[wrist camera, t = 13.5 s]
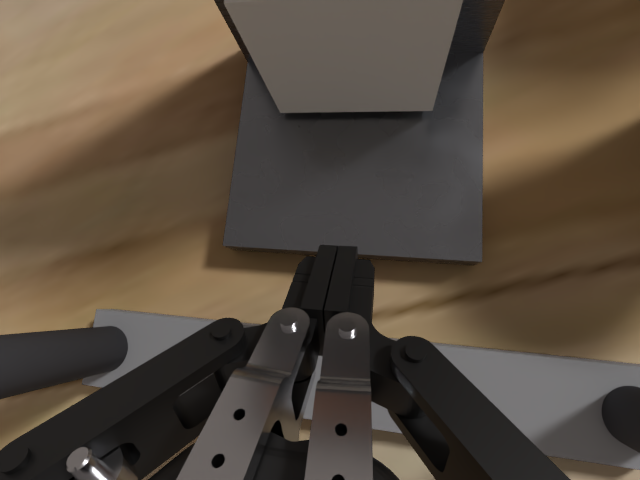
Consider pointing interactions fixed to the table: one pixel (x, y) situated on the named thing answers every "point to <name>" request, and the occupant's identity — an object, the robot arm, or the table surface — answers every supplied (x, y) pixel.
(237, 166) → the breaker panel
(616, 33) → the table surface
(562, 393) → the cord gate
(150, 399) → the robot arm
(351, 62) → the block
